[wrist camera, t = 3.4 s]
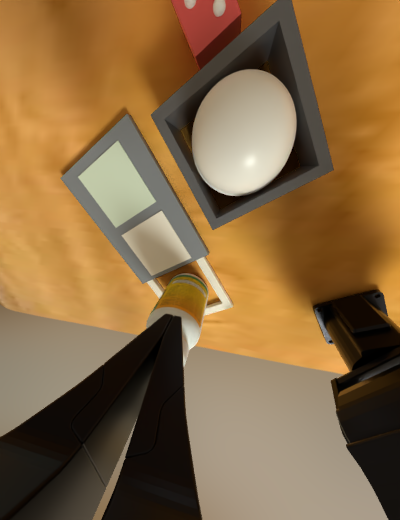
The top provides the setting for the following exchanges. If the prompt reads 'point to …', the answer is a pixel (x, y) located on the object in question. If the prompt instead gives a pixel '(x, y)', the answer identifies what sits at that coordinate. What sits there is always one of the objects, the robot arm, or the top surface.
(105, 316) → the top surface
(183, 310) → the supplement bottle
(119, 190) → the game board
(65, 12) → the top surface
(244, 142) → the dome
